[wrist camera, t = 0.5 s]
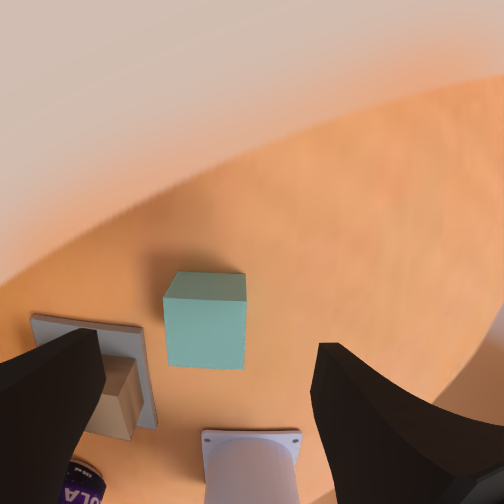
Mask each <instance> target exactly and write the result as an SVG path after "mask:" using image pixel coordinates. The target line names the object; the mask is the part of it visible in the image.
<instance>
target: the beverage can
mask: <svg viewBox="0 0 504 504" xmlns="http://www.w3.org/2000/svg"><path fill="white" fill-rule="evenodd" d="M105 489H106V484H105V482H104V480H103V479H102V477H101V475H100V473H99V472H98V471H97V470H96V469H94V468H93V467H91V466H90V465H88V464H86V463H84V462H82V461H78V460H70V462H69V465H68V468H67V471H66V475H65V478H64V481H63V485H62V489H61V493H60V497H59V501H58V504H101V501H102V498H103V495H104V492H105Z"/></svg>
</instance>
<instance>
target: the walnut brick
mask: <svg viewBox="0 0 504 504" xmlns="http://www.w3.org/2000/svg"><path fill="white" fill-rule="evenodd" d="M41 345H43V344H42V343H40V344H39V345H38V346H37V347H39V346H41ZM37 347H36V348H37ZM101 356H102V361H103V365H104V370H105V374H106V382H105V385H104V388H103V391H102V394H101V397H100V400H99V402H98V404H97V406H96V408H95V410H94V412H93V414H92V416H91V418H90V420H89V422H88V424H87V426H86V428H85V430H84V431H86V432H90V433H94V434H99V435H103V436H108V437H113V438H118V439H123V440H128V441H131V438H132V435H133V432H134V429H135V427H136V424H137V421H138V418H139V415H140V413H141V410H142V407H143V404H144V399H143V394H142V389H141V384H140V378H139V373H138V367H137V361H136V359H133V358H125V357H118V356H110V355H103V354H101Z"/></svg>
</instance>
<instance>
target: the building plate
mask: <svg viewBox="0 0 504 504" xmlns="http://www.w3.org/2000/svg"><path fill="white" fill-rule="evenodd" d="M30 323H31V327H32V330H33V334H34V338H35V342H36V345H37V346H38V345H39V344H40V343H42V344H45V343H47V342H50V341H52V340H54V339H56V338H58V337H60V336H62V335H64V334H66V333H68V332H71V331H73V330H76V329H79V328H87V329H95V330H97V335H98V340H99V346H100V351H101V354H103V355H110V356H118V357H125V358H133V359H136V361H137V367H138V373H139V378H140V384H141V389H142V394H143V399H144V404H143V407H142V410H141V413H140V415H139V418H138V421H137V424H136V427H141V428H148V429H155V430H156V428H157V425H158V420H157V415H156V410H155V405H154V399H153V394H152V388H151V382H150V375H149V369H148V362H147V355H146V348H145V340H144V332H143V328H140V327H129V326H120V325H110V324H102V323H94V322H86V321H78V320H71V319H64V318H57V317H51V316H44V315H38V314H34V315H33V316H32V317H31V318H30Z"/></svg>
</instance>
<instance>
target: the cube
mask: <svg viewBox="0 0 504 504" xmlns="http://www.w3.org/2000/svg"><path fill="white" fill-rule="evenodd" d="M246 306H247V297H246V274H233V273H207V272H183V271H178V272H177V273H176V275H175V277H174V279H173V281H172V282H171V284H170V286H169V288H168V289H167V291H166V293H165V295H164V296H163V308H164V322H165V334H166V345H167V355H168V365H169V366H179V367H192V368H209V369H232V370H244V353H245V329H246Z"/></svg>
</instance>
